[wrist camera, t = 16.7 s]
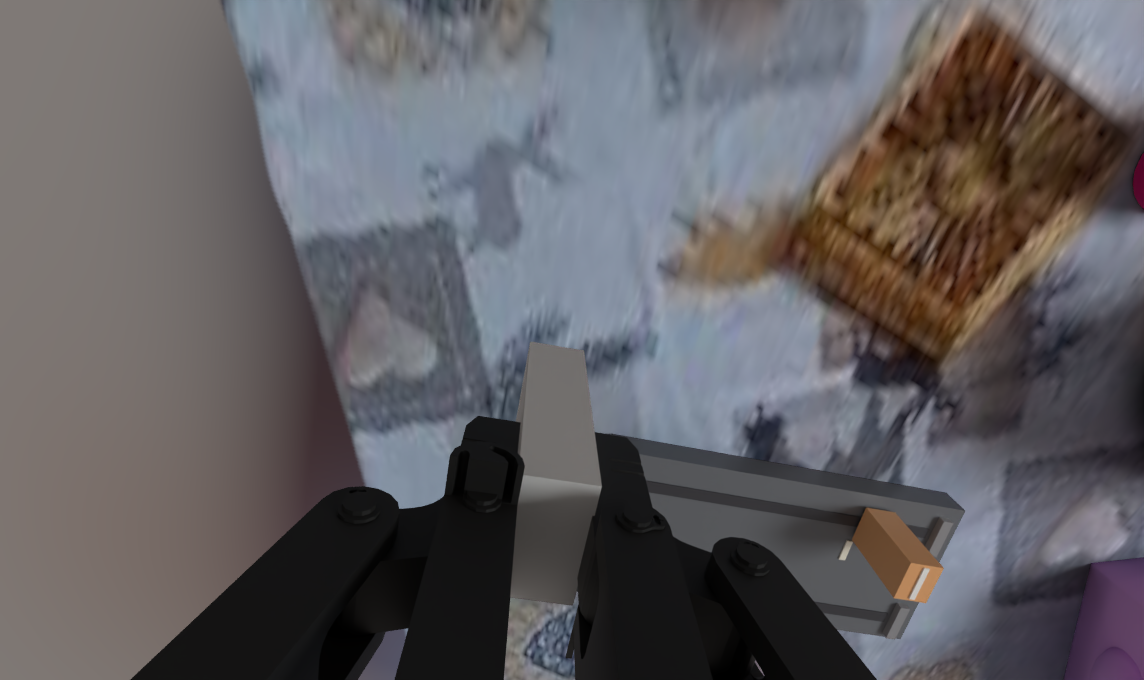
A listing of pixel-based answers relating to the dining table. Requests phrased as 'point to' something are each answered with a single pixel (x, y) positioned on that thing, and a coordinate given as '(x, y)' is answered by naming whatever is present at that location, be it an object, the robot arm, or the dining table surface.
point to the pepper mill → (1139, 182)
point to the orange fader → (897, 555)
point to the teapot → (1110, 624)
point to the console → (797, 523)
